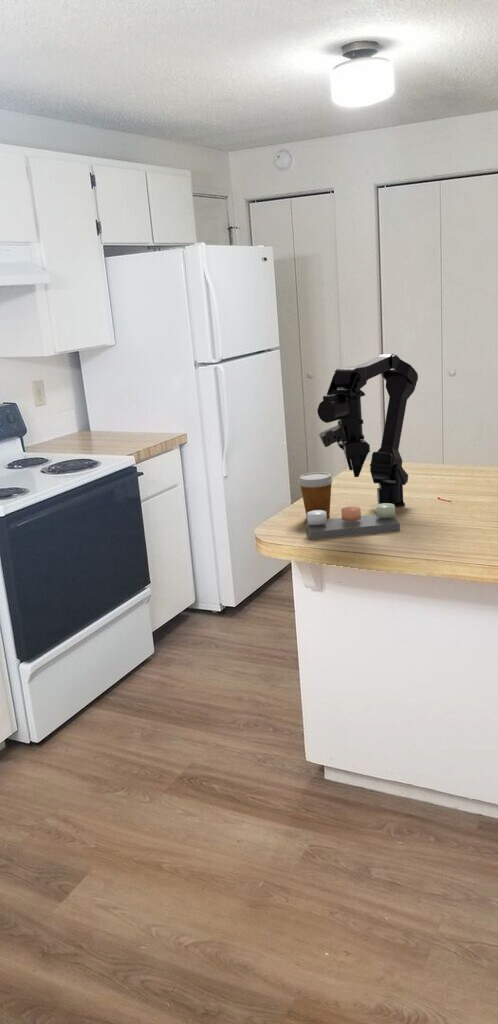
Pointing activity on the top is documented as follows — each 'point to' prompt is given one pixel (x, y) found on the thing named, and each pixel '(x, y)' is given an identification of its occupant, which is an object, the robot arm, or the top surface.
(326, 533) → the panel
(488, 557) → the top surface
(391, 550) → the top surface
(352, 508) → the button terracotta
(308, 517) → the button bluegrey
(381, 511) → the button sage
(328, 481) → the disposable coffee cup
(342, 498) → the top surface
